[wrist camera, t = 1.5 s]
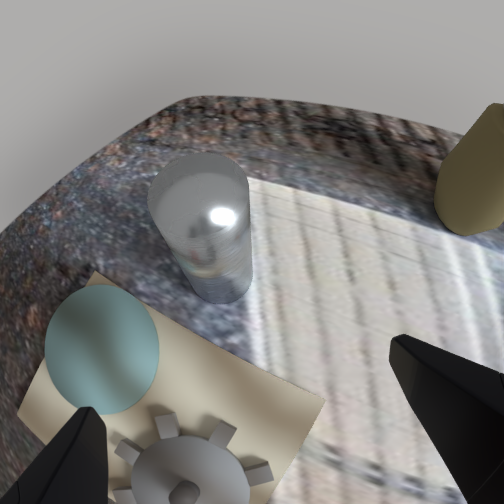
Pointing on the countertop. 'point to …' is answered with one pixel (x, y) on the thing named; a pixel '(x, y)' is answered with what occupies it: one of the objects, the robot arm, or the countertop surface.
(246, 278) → the axle
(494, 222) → the squeeze bottle
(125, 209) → the countertop surface
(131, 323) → the board
